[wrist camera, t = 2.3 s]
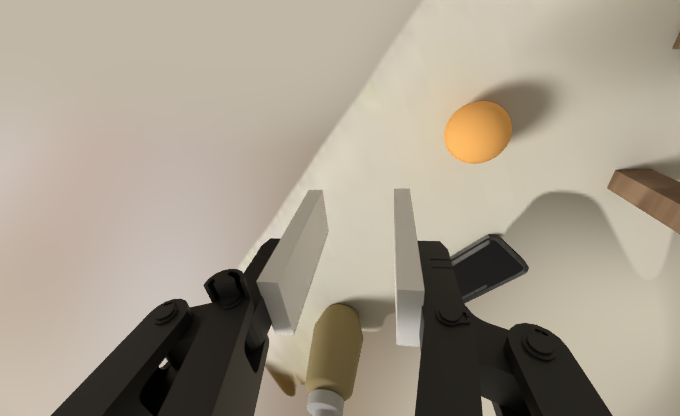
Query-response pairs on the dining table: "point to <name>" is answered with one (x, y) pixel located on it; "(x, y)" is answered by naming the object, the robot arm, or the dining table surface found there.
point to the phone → (486, 266)
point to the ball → (478, 132)
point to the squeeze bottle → (333, 360)
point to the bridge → (650, 190)
